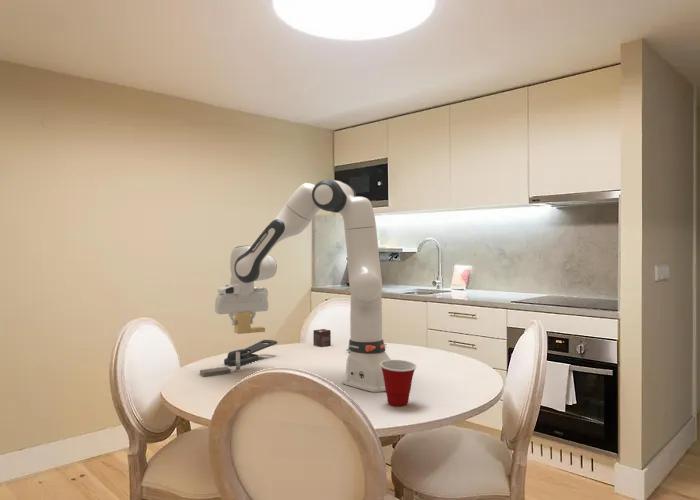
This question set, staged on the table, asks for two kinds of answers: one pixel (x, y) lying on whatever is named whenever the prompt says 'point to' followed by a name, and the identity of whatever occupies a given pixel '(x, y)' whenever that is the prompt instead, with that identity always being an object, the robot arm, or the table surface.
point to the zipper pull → (248, 353)
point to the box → (322, 337)
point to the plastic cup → (397, 380)
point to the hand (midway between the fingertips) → (242, 324)
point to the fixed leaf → (221, 369)
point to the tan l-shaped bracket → (245, 324)
